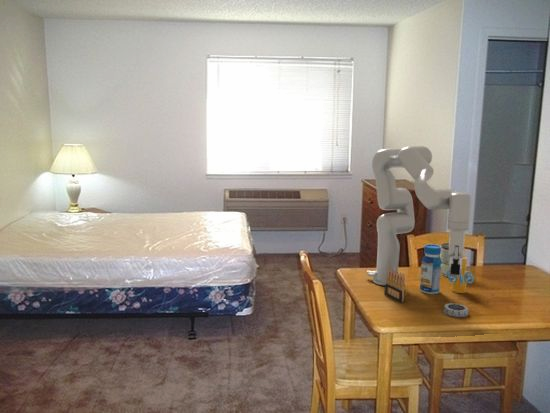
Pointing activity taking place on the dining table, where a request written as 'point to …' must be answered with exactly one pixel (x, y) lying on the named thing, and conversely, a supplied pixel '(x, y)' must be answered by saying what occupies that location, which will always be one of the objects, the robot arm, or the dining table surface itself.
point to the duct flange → (456, 310)
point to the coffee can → (445, 258)
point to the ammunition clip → (395, 286)
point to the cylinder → (461, 279)
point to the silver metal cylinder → (450, 266)
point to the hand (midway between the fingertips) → (455, 271)
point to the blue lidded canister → (431, 269)
